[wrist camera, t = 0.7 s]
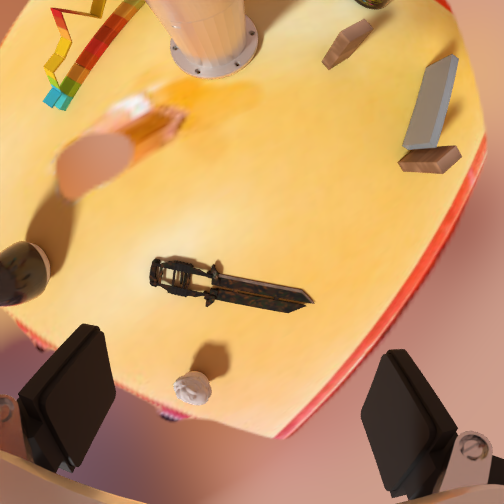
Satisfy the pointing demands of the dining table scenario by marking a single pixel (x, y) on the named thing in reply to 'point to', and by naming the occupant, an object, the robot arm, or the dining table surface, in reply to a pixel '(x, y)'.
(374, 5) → the supplement container
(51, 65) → the chart
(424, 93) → the door
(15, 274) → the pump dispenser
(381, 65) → the dining table surface
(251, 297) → the knife
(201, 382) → the white rounded lump
